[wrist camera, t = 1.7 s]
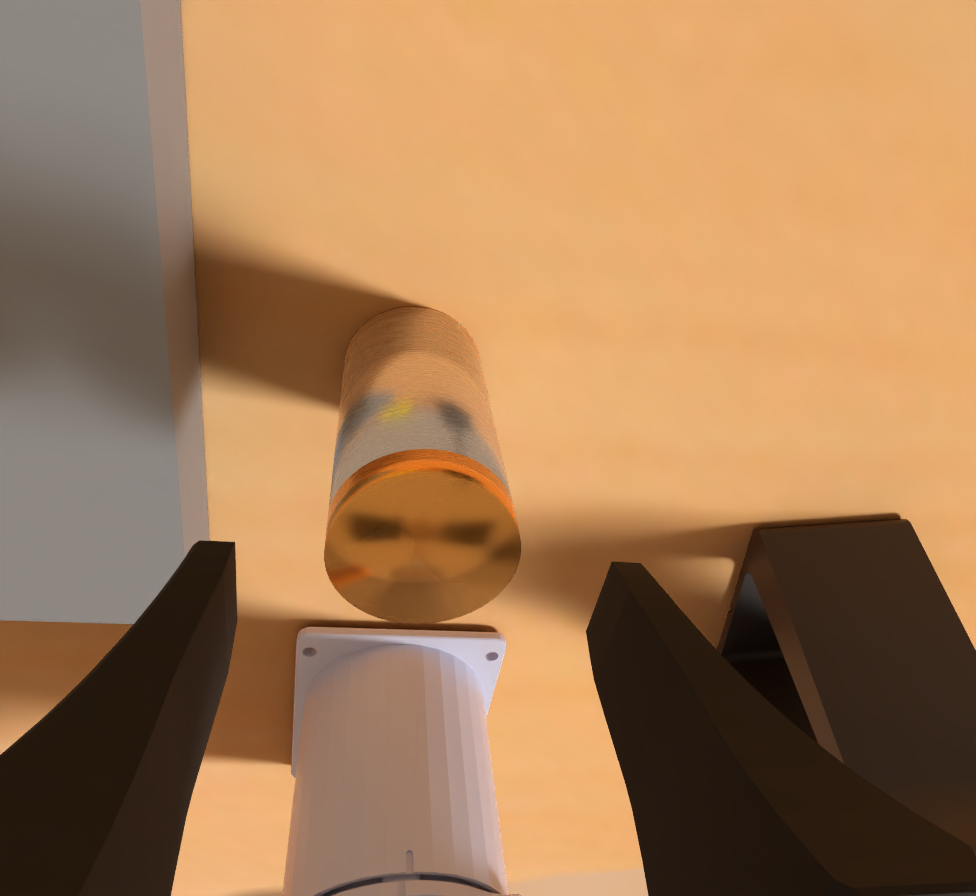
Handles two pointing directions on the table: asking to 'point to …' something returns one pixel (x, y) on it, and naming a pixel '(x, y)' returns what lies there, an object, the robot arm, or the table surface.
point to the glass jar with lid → (418, 475)
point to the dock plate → (96, 311)
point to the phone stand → (863, 658)
